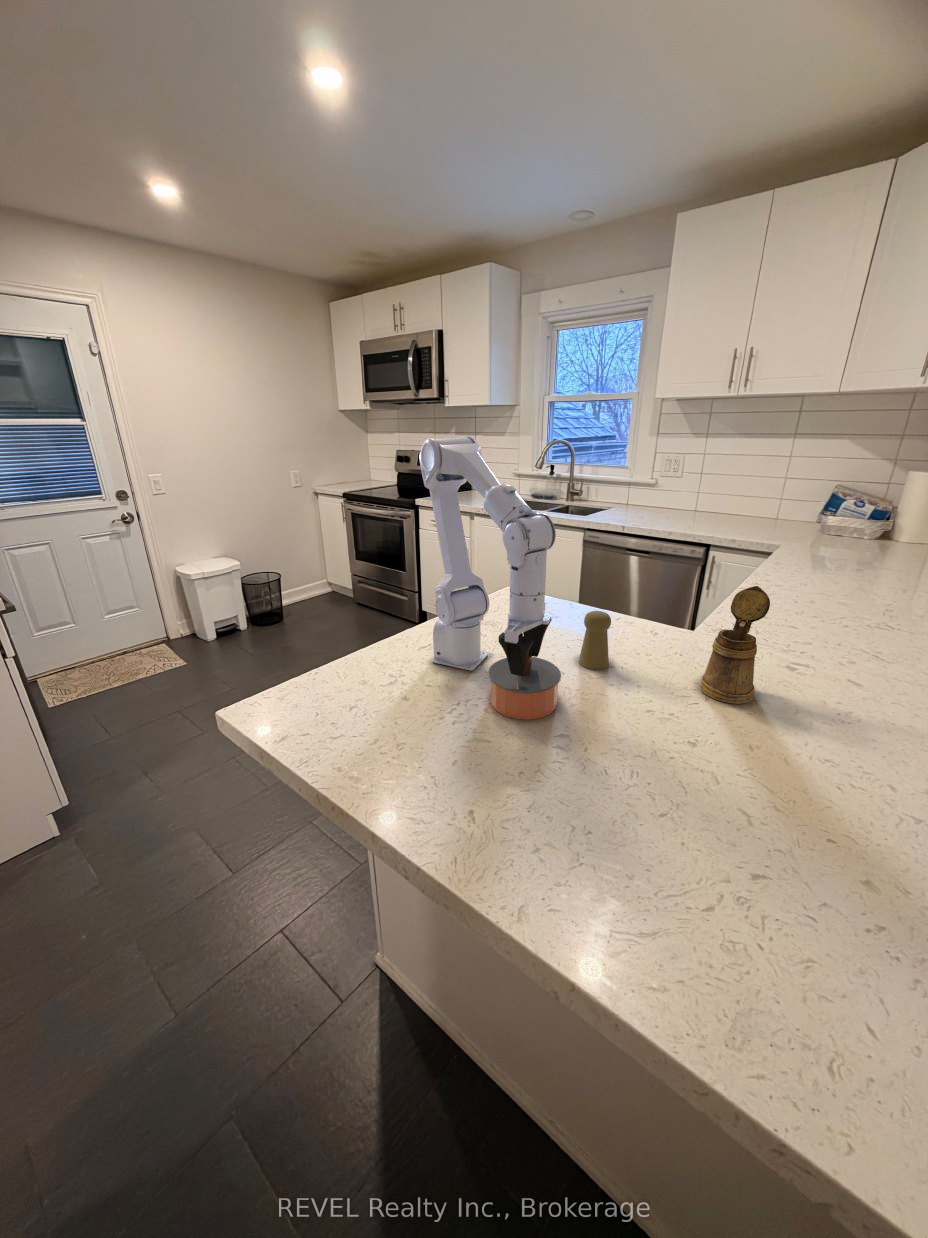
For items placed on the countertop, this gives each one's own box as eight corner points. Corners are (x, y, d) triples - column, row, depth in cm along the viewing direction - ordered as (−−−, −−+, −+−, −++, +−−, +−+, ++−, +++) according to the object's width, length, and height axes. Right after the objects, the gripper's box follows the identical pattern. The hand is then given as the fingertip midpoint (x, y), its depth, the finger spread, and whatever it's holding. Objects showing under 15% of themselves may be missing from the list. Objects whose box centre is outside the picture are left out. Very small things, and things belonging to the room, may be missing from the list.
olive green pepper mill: (609, 670, 98) (615, 619, 94) (578, 668, 100) (582, 617, 95) (607, 657, 104) (613, 608, 100) (578, 654, 105) (582, 606, 101)
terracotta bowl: (480, 710, 86) (480, 683, 84) (505, 679, 96) (506, 655, 94) (544, 726, 81) (546, 698, 79) (564, 693, 91) (565, 667, 89)
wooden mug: (764, 679, 94) (786, 590, 87) (746, 710, 85) (769, 612, 78) (714, 665, 100) (731, 580, 93) (692, 693, 90) (709, 600, 83)
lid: (476, 686, 84) (476, 663, 83) (504, 656, 95) (504, 635, 93) (548, 703, 79) (549, 679, 77) (569, 669, 89) (570, 647, 88)
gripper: (536, 608, 73) (533, 688, 78) (563, 580, 85) (559, 651, 90) (492, 602, 76) (492, 679, 81) (524, 575, 88) (522, 644, 93)
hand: (524, 664), depth 86 cm, fingers open, 7 cm apart
